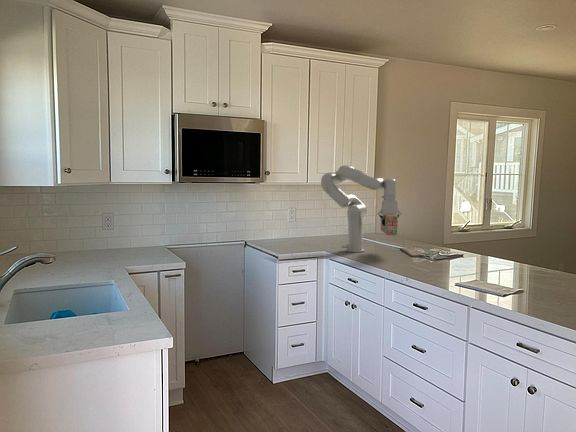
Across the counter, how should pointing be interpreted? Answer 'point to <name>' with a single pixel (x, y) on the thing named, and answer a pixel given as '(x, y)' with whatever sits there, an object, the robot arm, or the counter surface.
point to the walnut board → (412, 252)
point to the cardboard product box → (390, 225)
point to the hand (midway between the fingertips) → (388, 225)
